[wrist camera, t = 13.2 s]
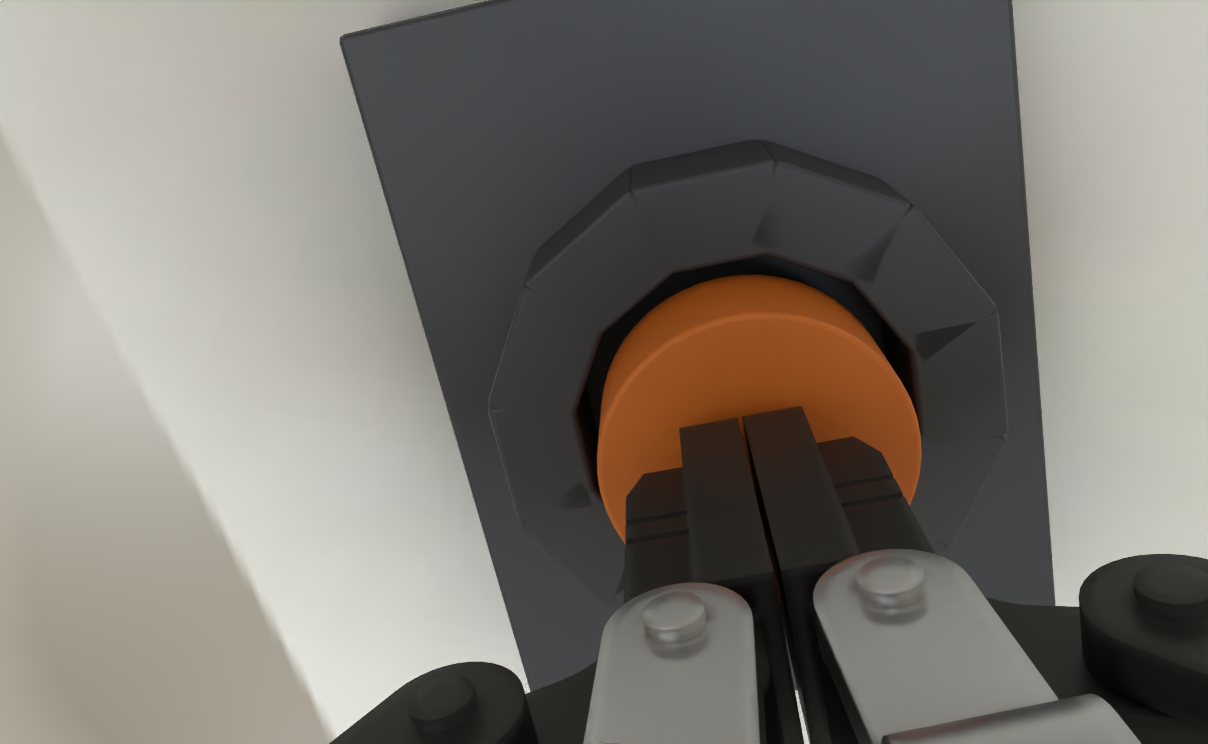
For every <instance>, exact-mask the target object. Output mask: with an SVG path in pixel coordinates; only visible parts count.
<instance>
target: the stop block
mask: <svg viewBox="0 0 1208 744" xmlns="http://www.w3.org/2000/svg"><path fill="white" fill-rule="evenodd" d="M340 46H341V50H342V53H343V56H344V60H345V63H346V67H347V70H348V73H349V77H350V80H351V84H352V87H353V90H354V94H355V97H356V101H357V104H358V107H359V111H360V114H361V118H362V121H363V124H364V128H365V131H366V134H367V138H368V141H369V145H370V148H371V151H372V155H373V158H374V162H375V165H376V168H377V172H378V175H379V179H380V182H381V185H382V189H383V192H384V196H385V199H386V202H387V206H388V209H389V213H390V216H391V219H392V223H393V226H394V230H395V233H396V236H397V240H398V243H399V246H400V250H401V253H402V257H403V260H404V263H405V267H406V270H407V274H408V277H409V280H410V284H411V287H412V291H413V294H414V297H415V301H416V304H417V308H418V311H419V314H420V318H421V321H422V325H423V328H424V331H425V335H426V338H427V342H428V345H429V348H430V352H431V355H432V358H433V362H434V365H435V369H436V372H437V375H438V379H439V382H440V386H441V389H442V392H443V396H444V399H445V403H446V406H447V409H448V413H449V416H450V420H451V423H452V426H453V430H454V433H455V437H456V440H457V443H458V447H459V450H460V454H461V457H462V460H463V464H464V467H465V470H466V474H467V477H468V481H469V484H470V487H471V491H472V494H473V498H474V501H475V504H476V508H477V511H478V515H479V518H480V521H481V525H482V528H483V532H484V535H485V538H486V542H487V545H488V549H489V552H490V555H491V559H492V562H493V566H494V569H495V572H496V576H497V579H498V582H499V586H500V589H501V593H502V596H503V599H504V603H505V606H506V610H507V613H508V616H509V620H510V623H511V627H512V630H513V633H514V637H515V640H516V644H517V647H518V650H519V654H520V657H521V661H522V664H523V667H524V671H525V674H526V677H527V681H528V684H529V688H530V691H531V692H532V691H535V690H537V689H540V688H543V687H545V686H548V685H550V684H553V683H556V682H558V681H561V680H563V679H565V678H568V677H570V676H572V675H574V674H576V673H578V672H580V671H581V670H583V669H585V668H587V667H588V666H589V665H591V664H592V663H594V662H595V661H597V660H598V656H599V650H600V645H601V639H602V634H603V631H604V627H605V625H606V624H607V622H608V620H609V619H610V617H611V616H612V615H613V614H614V613H615V612H616V611H617V610H618V609H619V608H620V607H621V606H623V605H624V570H625V545H626V544H625V543H624V541H623V540H622V538H621V537H620V535H619V534H618V533H617V531H616V530H615V528H614V526H613V524H612V522H611V520H610V518H609V516H608V514H607V512H606V509H605V506H604V503H603V500H602V496H601V493H600V487H599V481H598V475H597V450H598V438H599V427H600V415H601V404H602V396H603V388H604V384H605V381H606V377H607V373H608V370H609V368H610V366H611V363H612V361H613V359H614V356H615V354H616V352H617V351H618V349H619V347H620V346H621V344H622V342H623V341H624V339H625V338H626V337H627V335H628V334H629V333H630V332H631V330H632V329H633V328H634V327H635V325H636V324H637V323H638V322H639V321H640V320H641V319H642V318H643V317H644V316H645V315H646V314H648V313H649V312H650V311H651V310H652V309H654V308H655V307H656V306H658V305H659V304H660V303H662V302H663V301H664V300H666V299H668V298H669V297H671V296H673V295H675V294H677V293H678V292H680V291H682V290H684V289H687V288H689V287H692V286H694V285H697V284H699V283H702V282H705V281H709V280H713V279H717V278H721V277H728V276H736V275H766V276H775V277H781V278H785V279H789V280H793V281H797V282H800V283H803V284H805V285H808V286H810V287H813V288H815V289H818V290H819V291H821V292H823V293H825V294H826V295H828V296H830V297H832V298H834V299H835V300H836V301H837V302H839V303H840V304H841V305H843V306H844V307H845V308H847V309H848V310H849V311H850V312H851V313H852V314H853V315H854V316H855V317H856V318H857V319H858V320H859V321H860V322H861V323H862V324H863V326H864V327H865V328H866V330H867V331H868V333H869V334H870V335H871V337H872V338H873V339H874V341H875V342H876V344H877V345H878V347H879V348H880V350H881V352H882V353H883V355H884V356H885V358H886V359H887V361H888V362H889V364H890V365H891V367H892V368H893V370H894V371H895V373H896V374H897V376H898V377H899V379H900V380H901V382H902V384H903V386H904V387H905V389H906V391H907V393H908V395H909V397H910V399H911V401H912V404H913V407H914V410H915V413H916V415H917V419H918V425H919V430H920V435H921V454H922V455H921V465H920V474H919V478H918V482H917V486H916V490H915V494H914V496H913V499H912V501H911V504H910V508H911V510H912V511H913V513H914V515H915V517H916V519H917V521H918V523H919V525H920V527H921V529H922V530H923V532H924V534H925V536H926V538H927V540H928V542H929V544H930V546H931V547H932V549H933V551H934V553H935V554H936V555H939V556H942V557H945V558H947V559H949V560H951V561H953V562H954V563H956V564H957V565H959V566H960V567H961V568H963V569H964V570H965V572H966V573H967V574H968V575H969V576H970V577H971V579H972V580H973V582H974V583H975V584H976V586H977V587H978V588H979V590H980V591H981V593H982V594H983V595H984V596H985V597H988V598H992V599H996V600H999V601H1004V602H1010V603H1016V604H1025V605H1041V606H1055V593H1054V579H1053V565H1052V552H1051V538H1050V524H1049V510H1048V496H1047V482H1046V468H1045V454H1044V440H1043V426H1042V412H1041V398H1040V384H1039V370H1038V356H1037V342H1036V328H1035V314H1034V300H1033V286H1032V272H1031V259H1030V245H1029V231H1028V217H1027V203H1026V189H1025V175H1024V161H1023V147H1022V133H1021V119H1020V105H1019V91H1018V77H1017V63H1016V49H1015V35H1014V21H1013V7H1012V0H489V1H484V2H480V3H476V4H472V5H467V6H463V7H459V8H454V9H450V10H446V11H442V12H437V13H433V14H429V15H425V16H420V17H416V18H412V19H408V20H403V21H399V22H395V23H390V24H386V25H382V26H378V27H373V28H369V29H365V30H361V31H356V32H352V33H348V34H344V35H343V36H341V37H340ZM785 639H786V638H785ZM786 645H787V642H786ZM787 650H788V647H787ZM788 656H789V651H788ZM789 662H790V667H791V673H792V678H793V684H794V690H797V686H796V682H795V677H794V673H793V669H792V664H791V660H790V656H789Z"/></svg>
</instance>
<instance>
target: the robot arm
mask: <svg viewBox="0 0 1208 744" xmlns="http://www.w3.org/2000/svg"><path fill="white" fill-rule="evenodd" d="M742 418H743V425H744V431H745V437H746V442H747V448H748V453H749V459H750V465H751V470H752V476H753V481H754V487H755V491H754V487H753V482H752V478H751V474H750V470H749V465H748V461H747V457H746V452H745V448H744V444H743V440H742V435H741V431H740V427H739V423H738V418H731V419H726V420H720V421H715V422H709V423H704V424H698V425H693V426H687V427H682V428H679V433H680V443H681V454H682V464H683V467H680V468H674V469H668V470H663V471H657V472H651V473H646V474H643V475H642V477H641V478H640V479H639V481H638V482H637V483H636V485H635V486H634V487H633V489H632V490H631V491H630V493H629V494H628V495H627V497H626V525H625V542H626V545H625V570H624V605H623V606H621V607H620V608H619V609H618V610H617V611H616V612H615V613H614V614H613V615H612V616H611V617H610V619H609V620H608V622H607V624H606V625H605V627H604V631H603V634H602V639H601V645H600V650H599V656H598V660H597V661H595V662H594V663H592V664H591V665H589V666H588V667H587V668H585V669H583V670H581V671H580V672H578V673H576V674H574V675H572V676H570V677H568V678H565V679H563V680H561V681H558V682H556V683H553V684H550V685H548V686H545V687H543V688H540V689H537V690H535V691H532V692H530V693H527V694H525V692H524V689H523V686H522V683H521V681H520V680H519V678H518V677H517V675H515V674H514V673H513V672H512V671H511V670H509V669H507V668H505V667H503V666H500V665H497V664H493V663H487V662H465V663H457V664H453V665H448V666H444V667H441V668H438V669H435V670H432V671H430V672H428V673H425V674H423V675H421V676H419V677H417V678H415V679H413V680H412V681H410V682H408V683H407V684H405V685H404V686H402V687H401V688H399V689H398V690H397V691H395V692H394V693H393V694H392V695H390V696H389V697H388V698H386V699H385V700H384V701H383V702H381V703H380V704H379V705H378V706H376V707H375V708H374V709H373V710H371V711H370V712H369V713H367V714H366V715H365V716H364V717H362V718H361V719H360V720H359V721H357V722H356V723H355V724H354V725H352V726H351V727H350V728H348V729H347V730H346V731H345V732H343V733H342V734H341V735H340V736H338V737H337V738H336V739H335V740H333V741H332V742H331V743H329V744H804V740H803V735H802V729H801V723H800V718H799V712H798V706H797V701H796V695H795V690H794V684H793V678H792V673H791V667H790V662H789V656H790V660H791V664H792V669H793V673H794V677H795V682H796V686H797V691H798V695H799V699H800V704H801V708H802V712H803V717H804V721H805V725H806V730H807V734H808V739H809V743H810V744H1208V559H1204V558H1199V557H1192V556H1186V555H1174V554H1149V555H1139V556H1133V557H1128V558H1123V559H1120V560H1117V561H1113V562H1110V563H1108V564H1106V565H1104V566H1102V567H1100V568H1098V569H1097V570H1095V571H1094V572H1092V573H1091V574H1090V575H1089V576H1088V577H1087V578H1086V579H1085V580H1084V582H1083V584H1082V586H1081V588H1080V593H1079V607H1066V606H1041V605H1025V604H1016V603H1010V602H1004V601H999V600H996V599H992V598H988V597H985V596H984V595H983V594H982V593H981V591H980V590H979V588H978V587H977V586H976V584H975V583H974V582H973V580H972V579H971V577H970V576H969V575H968V574H967V573H966V572H965V570H964V569H963V568H961V567H960V566H959V565H957V564H956V563H954V562H953V561H951V560H949V559H947V558H945V557H942V556H939V555H936V554H935V553H934V551H933V549H932V547H931V546H930V544H929V542H928V540H927V538H926V536H925V534H924V532H923V530H922V529H921V527H920V525H919V523H918V521H917V519H916V517H915V515H914V513H913V511H912V510H911V508H910V506H909V504H908V502H907V500H906V498H905V497H903V493H902V491H901V489H900V487H899V485H898V483H897V481H896V479H894V478H893V474H892V472H891V470H890V468H889V466H888V464H887V462H886V460H885V458H884V456H883V455H882V453H881V452H880V451H878V450H877V449H875V448H873V447H871V446H870V445H868V444H866V443H864V442H863V441H861V440H859V439H857V438H855V437H854V436H853V437H847V438H842V439H836V440H830V441H825V442H819V443H816V440H815V438H814V435H813V433H812V430H811V428H810V425H809V423H808V420H807V418H806V415H805V413H804V410H803V408H802V406H796V407H791V408H785V409H780V410H774V411H769V412H763V413H758V414H752V415H747V416H742ZM755 492H756V495H755ZM756 498H757V499H756ZM757 503H758V504H757ZM785 638H786V639H785ZM786 642H787V645H786ZM787 647H788V650H787ZM788 651H789V656H788Z"/></svg>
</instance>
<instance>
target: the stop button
mask: <svg viewBox="0 0 1208 744" xmlns="http://www.w3.org/2000/svg"><path fill="white" fill-rule="evenodd" d="M796 406H802V408H803V410H804V413H805V415H806V418H807V420H808V423H809V425H810V428H811V430H812V433H813V435H814V438H815V440H816V443H819V442H825V441H830V440H836V439H842V438H847V437H853V436H854V437H855V438H857V439H859V440H861V441H863V442H864V443H866V444H868V445H870V446H871V447H873V448H875V449H877V450H878V451H880V452H881V453H882V455H883V456H884V458H885V460H886V462H887V464H888V466H889V468H890V470H891V472H892V474H893V478H894V479H896V481H897V483H898V485H899V487H900V489H901V491H902V493H903V497H905V498H906V500H907V502H908V504H909V506H910V504H911V501H912V499H913V496H914V494H915V490H916V486H917V482H918V478H919V474H920V465H921V455H922V454H921V435H920V430H919V425H918V419H917V415H916V413H915V410H914V407H913V404H912V401H911V399H910V397H909V395H908V393H907V391H906V389H905V387H904V386H903V384H902V382H901V380H900V379H899V377H898V376H897V374H896V373H895V371H894V370H893V368H892V367H891V365H890V364H889V362H888V361H887V359H886V358H885V356H884V355H883V353H882V352H881V350H880V348H879V347H878V345H877V344H876V342H875V341H874V339H873V338H872V337H871V335H870V334H869V333H868V331H867V330H866V328H865V327H864V326H863V324H862V323H861V322H860V321H859V320H858V319H857V318H856V317H855V316H854V315H853V314H852V313H851V312H850V311H849V310H848V309H847V308H845V307H844V306H843V305H841V304H840V303H839V302H837V301H836V300H835V299H834V298H832V297H830V296H828V295H826V294H825V293H823V292H821V291H819V290H818V289H815V288H813V287H810V286H808V285H805V284H803V283H800V282H797V281H793V280H789V279H785V278H781V277H775V276H766V275H736V276H728V277H721V278H717V279H713V280H709V281H705V282H702V283H699V284H697V285H694V286H692V287H689V288H687V289H684V290H682V291H680V292H678V293H677V294H675V295H673V296H671V297H669V298H668V299H666V300H664V301H663V302H662V303H660V304H659V305H658V306H656V307H655V308H654V309H652V310H651V311H650V312H649V313H648V314H646V315H645V316H644V317H643V318H642V319H641V320H640V321H639V322H638V323H637V324H636V325H635V327H634V328H633V329H632V330H631V332H630V333H629V334H628V335H627V337H626V338H625V339H624V341H623V342H622V344H621V346H620V347H619V349H618V351H617V352H616V354H615V356H614V359H613V361H612V363H611V366H610V368H609V370H608V373H607V377H606V381H605V384H604V388H603V396H602V404H601V415H600V427H599V438H598V450H597V475H598V481H599V487H600V493H601V496H602V500H603V503H604V506H605V509H606V512H607V514H608V516H609V518H610V520H611V522H612V524H613V526H614V528H615V530H616V531H617V533H618V534H619V535H620V537H621V538H622V540H623V541H624V543H625V544H626V542H625V525H626V497H627V495H628V494H629V493H630V491H631V490H632V489H633V487H634V486H635V485H636V483H637V482H638V481H639V479H640V478H641V477H642V475H643V474H646V473H651V472H657V471H663V470H668V469H674V468H680V467H683V464H682V454H681V443H680V433H679V428H682V427H687V426H693V425H698V424H704V423H709V422H715V421H720V420H726V419H731V418H738V423H739V427H740V431H741V435H742V440H743V444H744V448H745V452H746V457H747V461H748V465H749V470H750V474H751V478H752V482H753V487H754V481H753V476H752V470H751V465H750V459H749V453H748V448H747V442H746V437H745V431H744V425H743V418H742V416H747V415H752V414H758V413H763V412H769V411H774V410H780V409H785V408H791V407H796ZM754 491H755V487H754ZM755 495H756V492H755ZM756 499H757V498H756ZM757 504H758V503H757Z"/></svg>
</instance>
